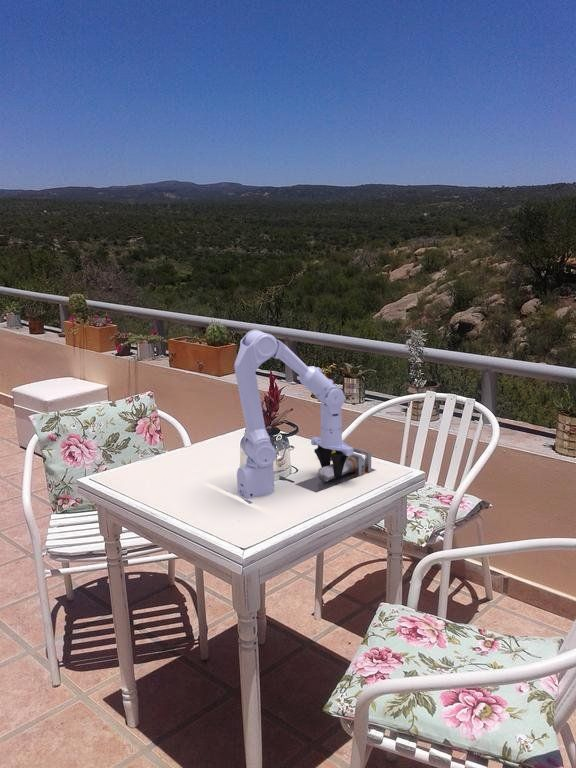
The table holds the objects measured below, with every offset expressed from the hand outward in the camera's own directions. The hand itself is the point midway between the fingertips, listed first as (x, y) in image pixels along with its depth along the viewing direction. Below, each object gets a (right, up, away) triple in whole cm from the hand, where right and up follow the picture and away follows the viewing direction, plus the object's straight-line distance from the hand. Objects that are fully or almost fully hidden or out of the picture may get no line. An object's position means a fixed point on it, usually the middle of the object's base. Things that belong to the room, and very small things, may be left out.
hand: (332, 474), depth 183 cm
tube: (+3, -1, +3) cm, 4 cm away
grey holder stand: (+2, -2, +2) cm, 3 cm away
